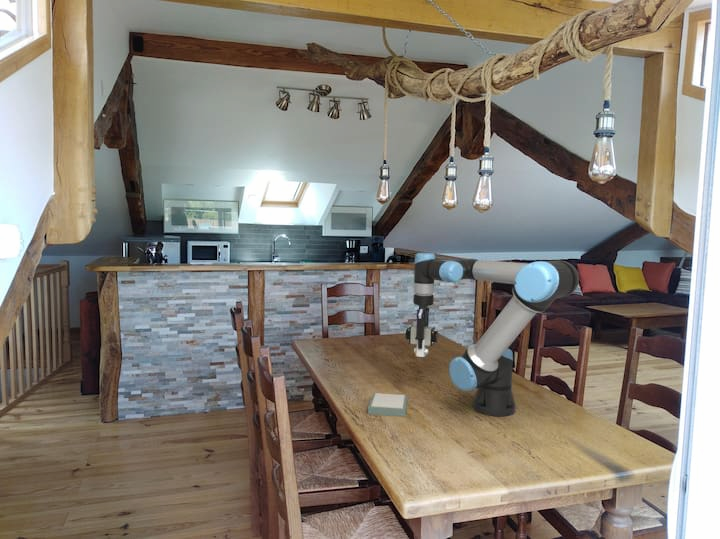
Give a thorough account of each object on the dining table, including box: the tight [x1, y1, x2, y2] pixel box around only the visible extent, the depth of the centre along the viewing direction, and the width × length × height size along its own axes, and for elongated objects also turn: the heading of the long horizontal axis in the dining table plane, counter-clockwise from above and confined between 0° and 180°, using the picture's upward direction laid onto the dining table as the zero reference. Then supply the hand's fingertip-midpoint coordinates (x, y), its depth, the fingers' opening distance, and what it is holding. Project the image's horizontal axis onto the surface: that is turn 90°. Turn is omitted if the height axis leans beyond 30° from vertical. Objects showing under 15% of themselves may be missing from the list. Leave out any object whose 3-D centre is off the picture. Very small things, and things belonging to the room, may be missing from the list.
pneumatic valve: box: [405, 324, 439, 358], centre depth 196 cm, size 6×12×12 cm, turn 69°
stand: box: [367, 392, 409, 418], centre depth 187 cm, size 13×15×3 cm
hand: (421, 354), depth 196 cm, fingers closed on pneumatic valve, 5 cm apart
